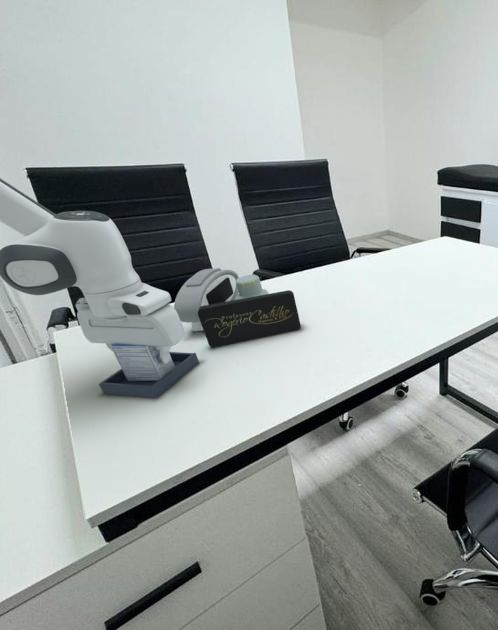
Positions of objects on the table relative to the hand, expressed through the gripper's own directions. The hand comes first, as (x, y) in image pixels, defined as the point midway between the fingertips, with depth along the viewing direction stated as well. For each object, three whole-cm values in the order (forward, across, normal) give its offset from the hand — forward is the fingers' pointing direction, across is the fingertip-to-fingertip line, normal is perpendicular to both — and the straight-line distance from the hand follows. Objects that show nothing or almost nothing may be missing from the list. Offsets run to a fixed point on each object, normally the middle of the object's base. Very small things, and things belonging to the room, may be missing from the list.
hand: (145, 360), depth 79 cm
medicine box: (+4, 0, 0) cm, 4 cm away
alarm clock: (+4, -5, +28) cm, 29 cm away
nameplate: (+4, +13, +18) cm, 23 cm away
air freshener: (+4, +5, +31) cm, 32 cm away
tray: (+4, 0, 0) cm, 4 cm away
